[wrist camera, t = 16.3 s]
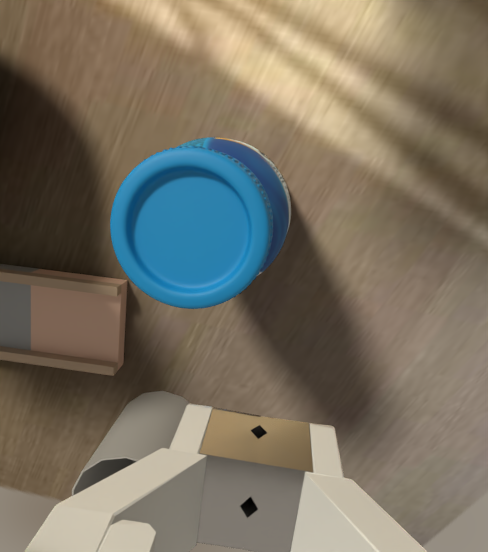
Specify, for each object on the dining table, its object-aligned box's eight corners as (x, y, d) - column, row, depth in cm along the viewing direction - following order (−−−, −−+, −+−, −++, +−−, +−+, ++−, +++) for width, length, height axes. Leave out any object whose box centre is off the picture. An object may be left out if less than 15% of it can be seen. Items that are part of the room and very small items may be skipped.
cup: (119, 386, 43) (70, 450, 33) (206, 394, 42) (182, 462, 32) (120, 466, 45) (74, 548, 35) (203, 474, 44) (180, 561, 34)
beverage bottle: (188, 145, 37) (81, 117, 18) (293, 149, 36) (301, 126, 17) (186, 247, 39) (88, 324, 20) (286, 253, 38) (285, 339, 19)
